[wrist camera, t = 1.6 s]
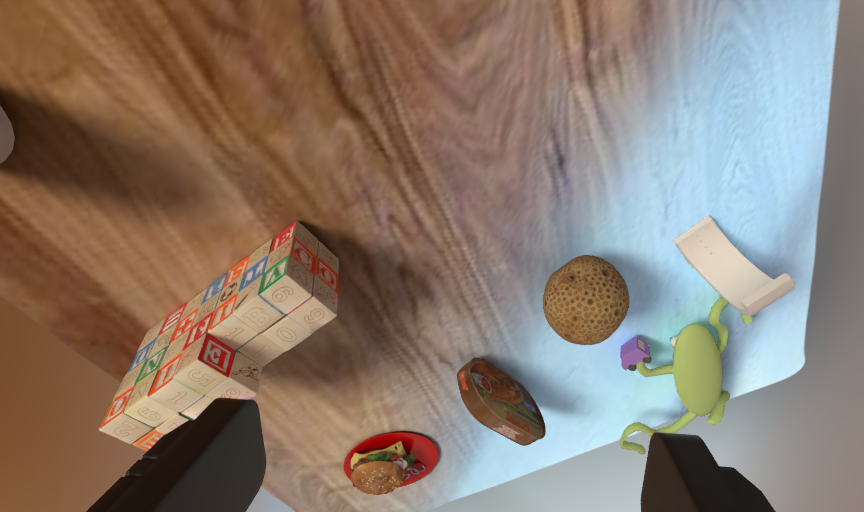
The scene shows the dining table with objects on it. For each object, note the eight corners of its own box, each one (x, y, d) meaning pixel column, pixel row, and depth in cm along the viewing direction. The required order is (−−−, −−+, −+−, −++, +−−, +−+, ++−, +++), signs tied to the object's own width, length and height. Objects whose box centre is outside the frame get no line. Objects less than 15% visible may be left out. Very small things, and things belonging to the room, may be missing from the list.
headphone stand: (707, 215, 52) (792, 277, 43) (725, 245, 55) (808, 310, 46) (672, 240, 54) (746, 306, 44) (691, 268, 57) (764, 336, 47)
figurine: (604, 436, 74) (621, 468, 70) (613, 316, 59) (636, 347, 55) (713, 408, 75) (737, 438, 71) (750, 282, 60) (784, 310, 55)
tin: (534, 392, 65) (557, 445, 58) (517, 404, 66) (537, 458, 59) (465, 346, 58) (481, 400, 51) (446, 360, 59) (461, 415, 52)
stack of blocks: (296, 217, 44) (282, 297, 34) (340, 257, 48) (340, 341, 38) (145, 331, 49) (95, 432, 39) (195, 361, 52) (160, 461, 42)
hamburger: (359, 495, 73) (360, 535, 68) (330, 445, 65) (330, 486, 60) (445, 472, 73) (452, 510, 68) (428, 419, 65) (435, 458, 60)
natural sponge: (539, 236, 50) (577, 292, 42) (612, 238, 52) (663, 292, 44) (520, 301, 55) (551, 363, 47) (588, 301, 57) (629, 360, 49)
